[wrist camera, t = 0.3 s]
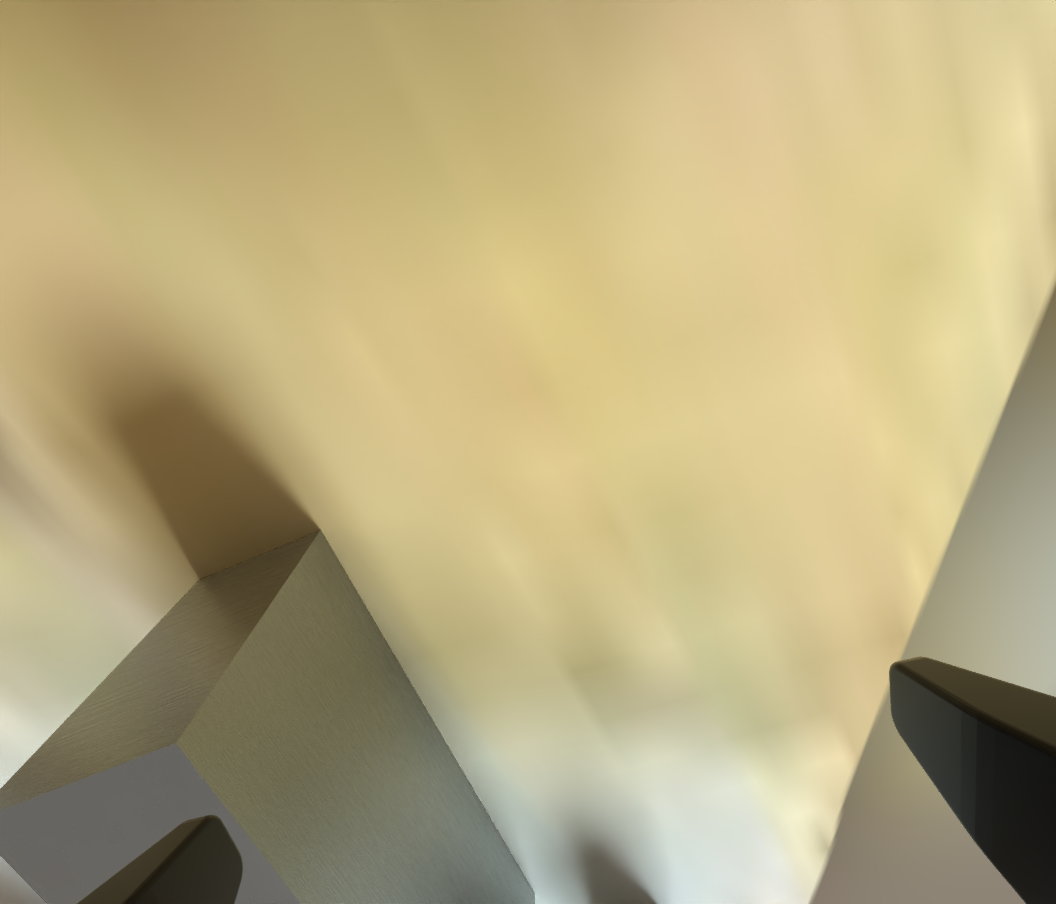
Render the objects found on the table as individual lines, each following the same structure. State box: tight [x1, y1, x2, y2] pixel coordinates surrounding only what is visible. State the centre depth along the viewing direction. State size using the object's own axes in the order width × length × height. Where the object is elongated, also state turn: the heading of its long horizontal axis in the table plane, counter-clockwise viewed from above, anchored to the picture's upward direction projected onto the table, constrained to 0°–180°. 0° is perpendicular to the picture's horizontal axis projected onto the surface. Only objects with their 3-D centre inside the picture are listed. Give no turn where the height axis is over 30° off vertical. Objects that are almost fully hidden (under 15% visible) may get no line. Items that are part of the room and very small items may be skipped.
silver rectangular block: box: [0, 530, 535, 904], centre depth 20 cm, size 20×5×10 cm, turn 23°
